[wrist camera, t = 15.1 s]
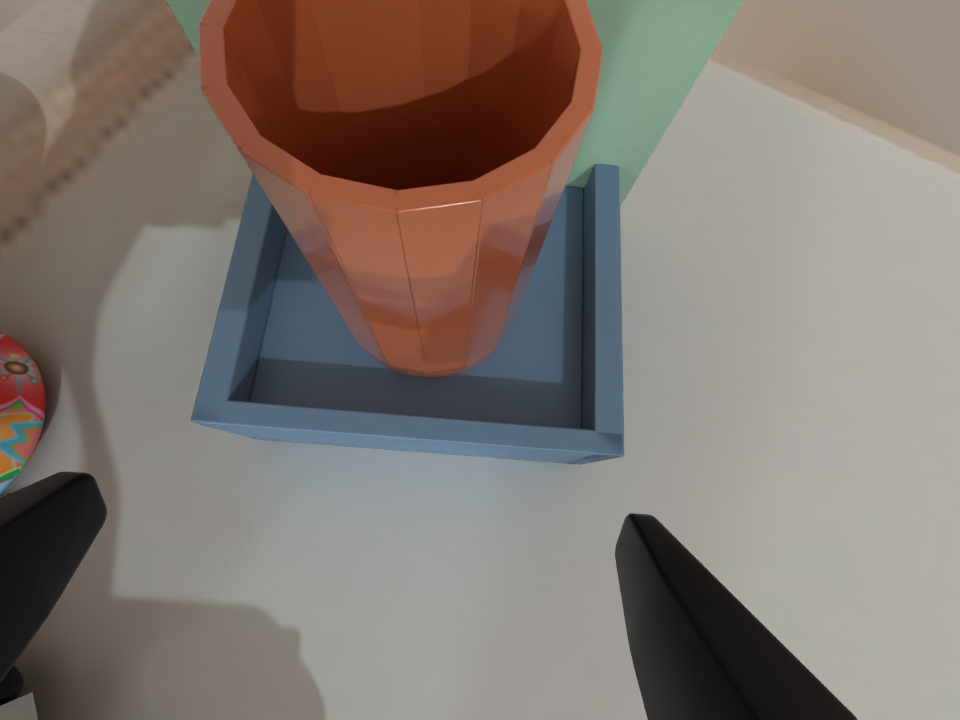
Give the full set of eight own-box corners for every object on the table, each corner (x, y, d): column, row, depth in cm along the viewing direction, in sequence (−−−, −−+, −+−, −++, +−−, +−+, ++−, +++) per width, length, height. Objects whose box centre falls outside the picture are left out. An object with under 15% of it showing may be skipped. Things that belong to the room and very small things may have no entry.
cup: (546, 277, 18) (666, 13, 8) (452, 412, 16) (457, 289, 6) (412, 193, 19) (368, -147, 9) (308, 314, 17) (104, 63, 7)
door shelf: (604, 466, 20) (871, 425, 7) (230, 437, 19) (-187, 336, 7) (603, 214, 23) (781, -104, 11) (287, 183, 23) (87, -196, 10)
